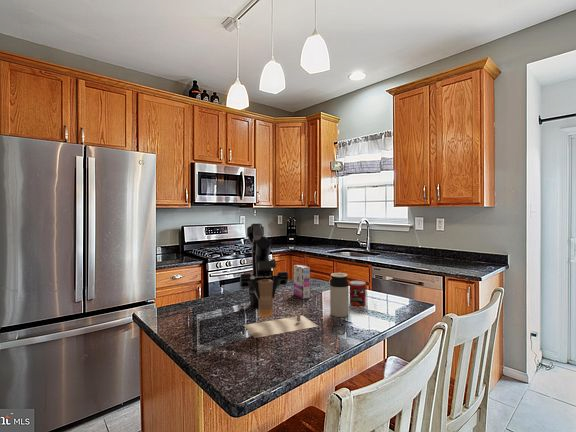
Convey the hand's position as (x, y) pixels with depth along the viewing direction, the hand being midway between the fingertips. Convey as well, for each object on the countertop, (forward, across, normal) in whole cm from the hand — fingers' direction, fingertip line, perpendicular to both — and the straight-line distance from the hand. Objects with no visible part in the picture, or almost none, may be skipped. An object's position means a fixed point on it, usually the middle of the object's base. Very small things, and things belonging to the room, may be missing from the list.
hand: (266, 298), depth 119 cm
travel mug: (0, +34, +20) cm, 40 cm away
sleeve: (+4, 0, +6) cm, 7 cm away
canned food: (-9, +48, +29) cm, 57 cm away
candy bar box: (-24, +25, +43) cm, 56 cm away
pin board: (+7, +6, +12) cm, 15 cm away
